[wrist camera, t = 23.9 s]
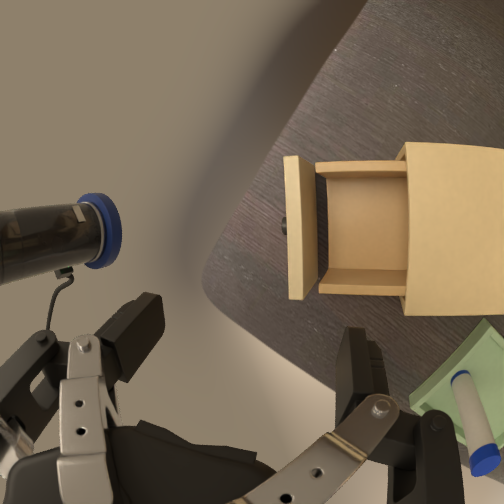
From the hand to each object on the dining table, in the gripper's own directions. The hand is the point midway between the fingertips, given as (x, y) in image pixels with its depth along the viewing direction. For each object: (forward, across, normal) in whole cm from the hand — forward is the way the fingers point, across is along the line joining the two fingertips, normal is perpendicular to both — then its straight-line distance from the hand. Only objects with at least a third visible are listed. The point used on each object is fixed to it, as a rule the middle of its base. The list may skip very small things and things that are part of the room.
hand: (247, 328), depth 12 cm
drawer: (+17, -8, -1) cm, 19 cm away
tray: (+10, -29, +16) cm, 34 cm away
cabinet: (+16, -18, -2) cm, 24 cm away
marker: (+12, -23, +14) cm, 29 cm away
